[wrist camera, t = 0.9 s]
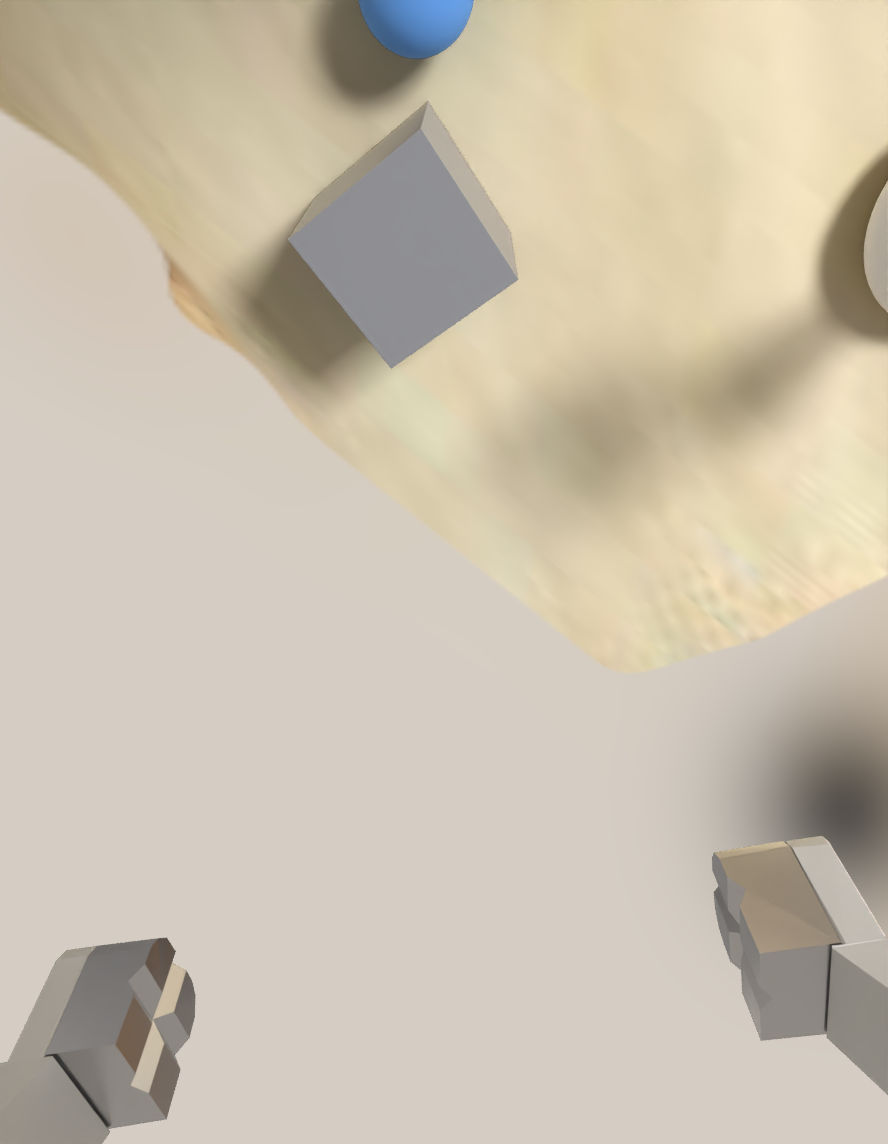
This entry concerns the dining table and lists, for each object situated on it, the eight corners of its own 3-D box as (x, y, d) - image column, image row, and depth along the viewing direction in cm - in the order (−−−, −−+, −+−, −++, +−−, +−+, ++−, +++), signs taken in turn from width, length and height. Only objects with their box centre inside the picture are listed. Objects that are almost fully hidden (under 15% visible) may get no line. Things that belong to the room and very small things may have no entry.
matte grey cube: (428, 101, 37) (420, 128, 31) (510, 231, 41) (518, 279, 35) (315, 197, 40) (287, 240, 34) (401, 311, 44) (391, 368, 37)
